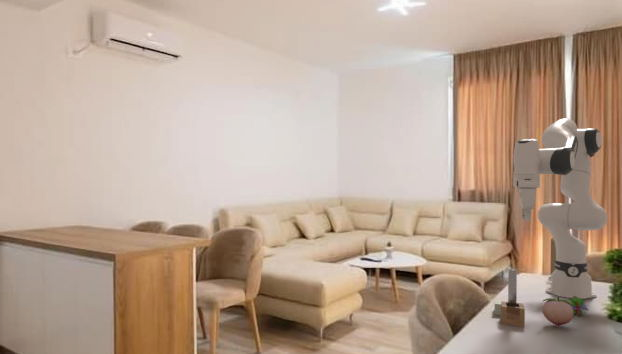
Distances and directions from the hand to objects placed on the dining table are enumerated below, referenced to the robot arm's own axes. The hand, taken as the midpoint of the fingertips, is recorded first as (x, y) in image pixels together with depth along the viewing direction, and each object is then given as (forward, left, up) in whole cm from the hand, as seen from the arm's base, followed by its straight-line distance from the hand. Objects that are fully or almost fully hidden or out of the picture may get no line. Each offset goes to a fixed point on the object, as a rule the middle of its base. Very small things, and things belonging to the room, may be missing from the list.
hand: (526, 220), depth 160 cm
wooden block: (-66, +22, -34) cm, 78 cm away
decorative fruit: (+12, +9, -34) cm, 38 cm away
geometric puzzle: (-5, +17, -34) cm, 39 cm away
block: (+4, -7, -34) cm, 35 cm away
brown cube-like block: (+14, -5, -34) cm, 37 cm away
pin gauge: (+14, -5, -32) cm, 35 cm away
